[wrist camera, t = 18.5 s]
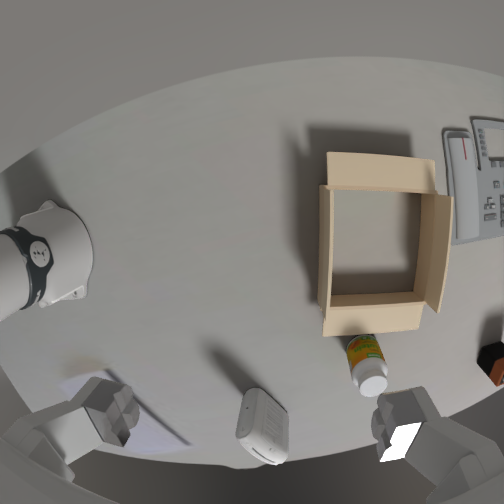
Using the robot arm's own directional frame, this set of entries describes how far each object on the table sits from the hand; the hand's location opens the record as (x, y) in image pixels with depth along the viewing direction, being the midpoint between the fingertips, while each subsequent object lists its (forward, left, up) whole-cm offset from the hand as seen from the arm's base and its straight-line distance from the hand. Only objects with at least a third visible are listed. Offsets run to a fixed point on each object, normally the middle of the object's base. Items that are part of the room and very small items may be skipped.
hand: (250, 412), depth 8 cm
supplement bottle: (+8, -22, -31) cm, 39 cm away
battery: (+36, -38, -31) cm, 61 cm away
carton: (+13, -6, -31) cm, 34 cm away
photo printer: (-11, -29, -31) cm, 44 cm away
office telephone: (+39, -3, -32) cm, 50 cm away
